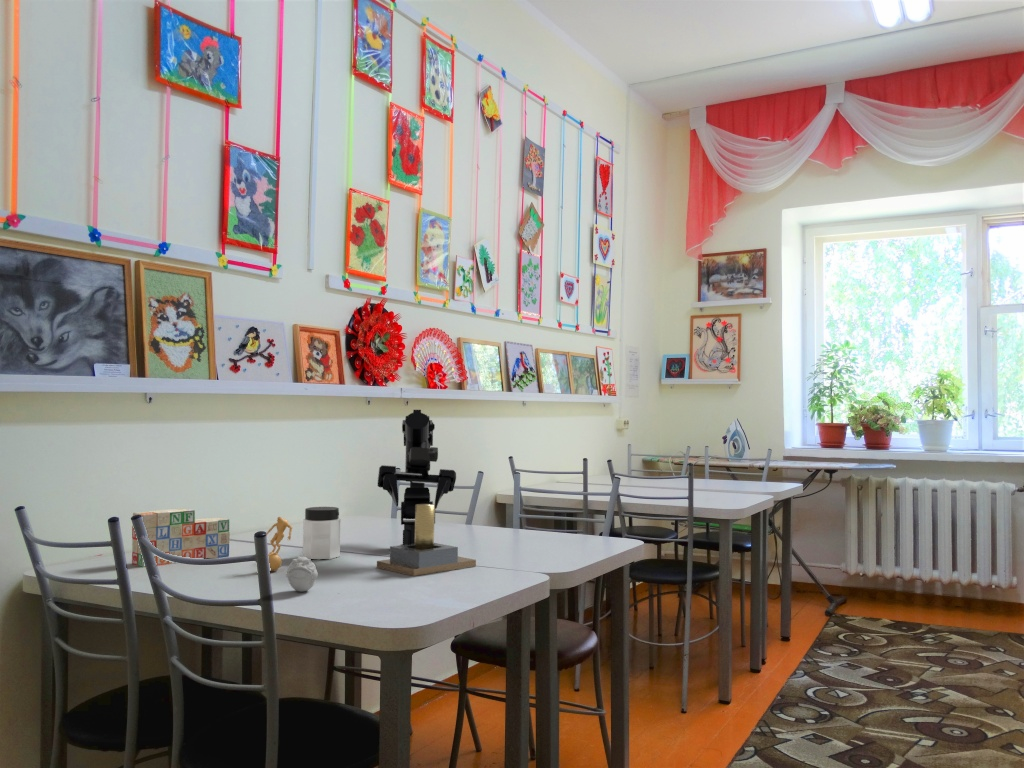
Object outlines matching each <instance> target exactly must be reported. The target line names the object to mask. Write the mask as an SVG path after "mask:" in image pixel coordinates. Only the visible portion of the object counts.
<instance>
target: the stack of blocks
mask: <svg viewBox="0 0 1024 768" xmlns="http://www.w3.org/2000/svg"><path fill="white" fill-rule="evenodd" d="M195 513H196V511H195V509H189V508H184V507H183V508H171V509H170V508H169V509H168V508H167V509H159V510H149V511H137V512H133V513H132V517H133V516H134V515H141V516H142V517H143V522H144V525H145V527H146V530H147V534H148V538H149V540H150V542H151V543H152V545H153V546H155V547H156V548H158V549H159V550H160V551H163V552H165V553H169V554H172V555H177V556H182V557H190V558H211V559H216V558H217V559H219V558H227V557H230V535H231V534H230V519H229V518H223V517H222V518H221V517H209V518H205V517H204V518H197V519H196V515H195ZM131 530H132V531H131V532H132V533H131V538H132V541H131V542H132V543H131V546H132V548H131V549H132V554H131V564H132V565H134V566H136V567H137V566H138V567H140V568H146V567H145V566H144V562H143V558H142V555H141V551H140V548H139V545H138V541H137V538H136V534H135V531H134V528H133V525H132V526H131ZM154 558H155V561H156V563H157V567H158V566H164V565H172V564H174V565H175V563H172V562H169V561H166V560H163V559H160V558H159V557H157V556H154Z"/></svg>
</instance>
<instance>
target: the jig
mask: <svg viewBox="0 0 1024 768" xmlns="http://www.w3.org/2000/svg"><path fill="white" fill-rule="evenodd" d="M414 547H415V543H414V544H406V545H401V544H399V545H392V546H389V558H388V559H382V560H377V561H376V568H378V569H382V570H386V571H390V572H394V573H399V574H403V575H407V576H411V577H418V576H422V575H423V576H424V575H431V574H437V573H441V572H442V571H443V572H449V571H453V570H455V569H456V570H461V568H462V569H467V568H466V567H468V568H474V567H473V566H475V567H477V560H476V559H474V558H467V557H465V556H459V550H458V549H459V548H458V546H452V545H450V544H449V545H447V544H443V543H436V542H434V548H433V549H425V550H419V549H414ZM436 572H437V573H436Z"/></svg>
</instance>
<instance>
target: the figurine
mask: <svg viewBox="0 0 1024 768" xmlns="http://www.w3.org/2000/svg"><path fill="white" fill-rule="evenodd" d="M274 528H276V532H275V533H274V535H273V537H272V538H271V540H270V545H271V546H272V547H273V548H272V550H271V551H270V552H269V553H267V555H268V556H269V563H270V568H271V571H270V572H276V571H277V570H279V569H280V567H282V566H281V565H282V558H281V557H280V555H279V554H278V553H279V552H280V549H281V544H280V543H281V541H283V539H284V537H285V534H284V532H285V530H286V529H287V528H289V531H288V536H287V538H286V539H287V540H291V538H292V531H293V530H292V529H293V527H292V526H291V524H290V523H289V520H287V519H286V518H282V517H281V516H278V517H277V519H276V523H273V524H272V526H271V527H270V528H269V529H268V530H267V532H266V534H265V535H266V537H267V535H268V534H269V533H271V531H272V530H274ZM276 549H277V550H276Z"/></svg>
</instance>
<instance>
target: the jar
mask: <svg viewBox="0 0 1024 768" xmlns="http://www.w3.org/2000/svg"><path fill="white" fill-rule="evenodd" d="M304 509H305V510H304V511H305V512H304V513H305V514H304V516H305V517H304V519H303V525H302V530H303V531H302V532H303V533H302V557H307V558H308V559H329V560H333V559H336V557H337V558H339V557H341V518H340V517H339V516H340V509H339V507H336V506H312V507H307V508H304Z"/></svg>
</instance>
